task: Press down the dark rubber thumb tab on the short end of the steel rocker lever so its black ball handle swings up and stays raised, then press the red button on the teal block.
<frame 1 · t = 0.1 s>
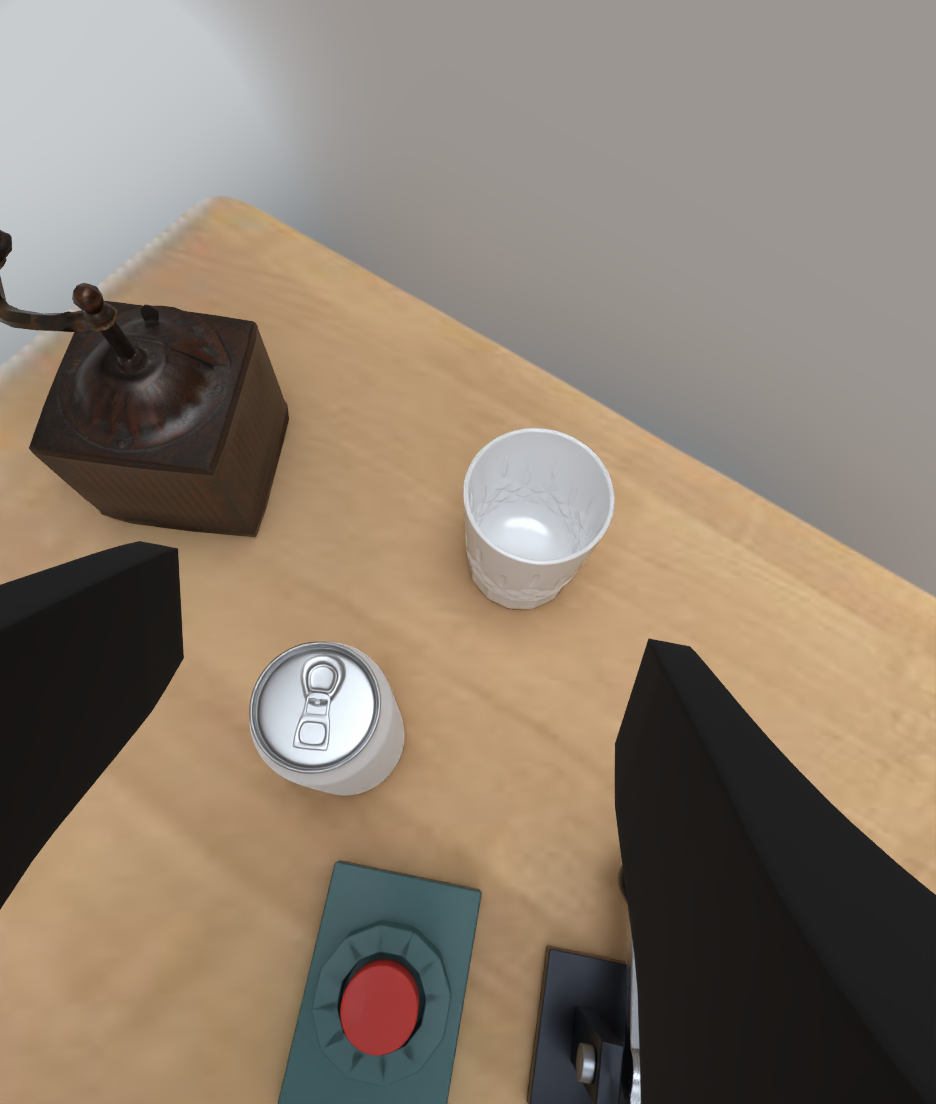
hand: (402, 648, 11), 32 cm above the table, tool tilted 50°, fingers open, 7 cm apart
bracket: (613, 1037, 36), on the table
can: (350, 738, 41), on the table
brown coffee grinder: (166, 454, 48), on the table
button: (380, 1005, 33), point 4 cm above the table, slide at 0.1 cm
button block: (386, 988, 36), on the table
white cup: (519, 562, 46), on the table
lever: (644, 1070, 31), point 6 cm above the table, hinge at -18.0°
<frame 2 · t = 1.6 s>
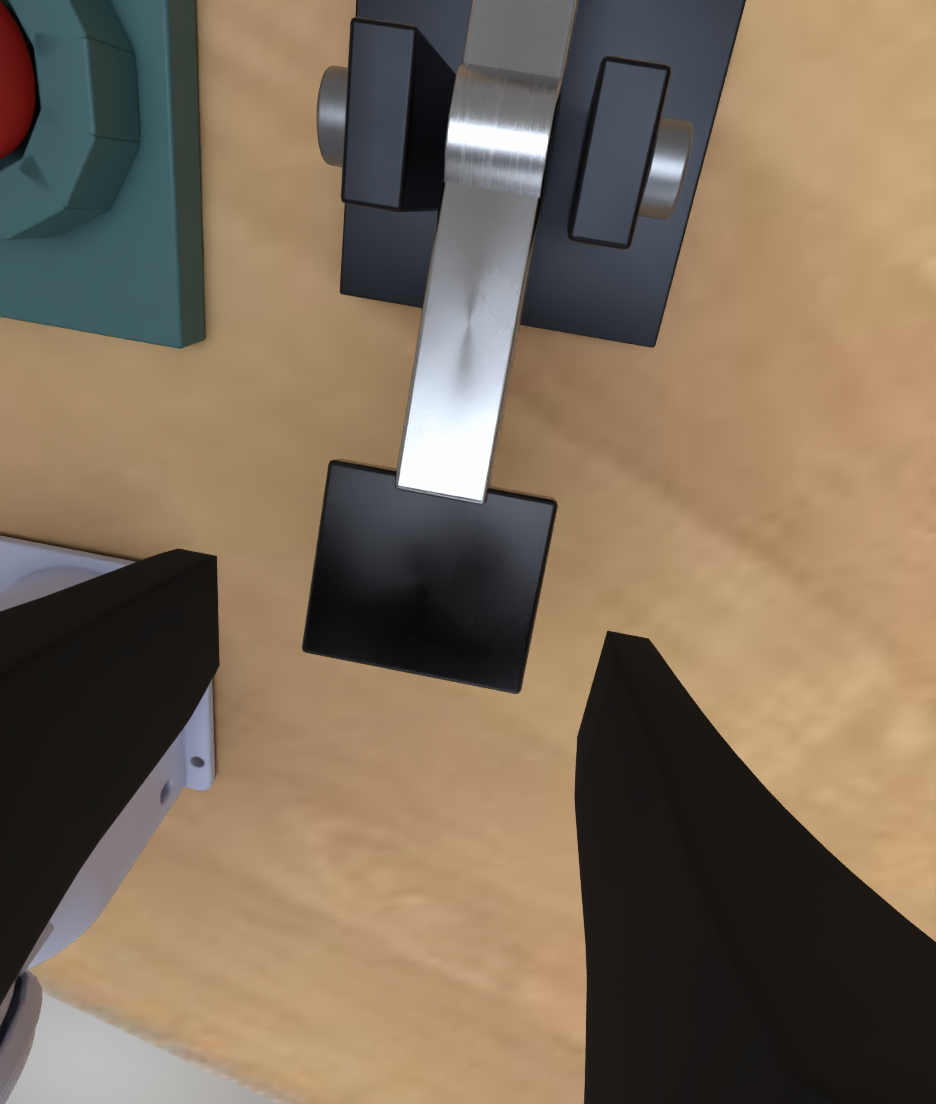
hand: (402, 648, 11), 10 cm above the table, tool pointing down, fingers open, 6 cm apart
bracket: (522, 164, 17), on the table
button block: (43, 86, 17), on the table
lever: (504, 131, 11), point 6 cm above the table, hinge at -18.0°
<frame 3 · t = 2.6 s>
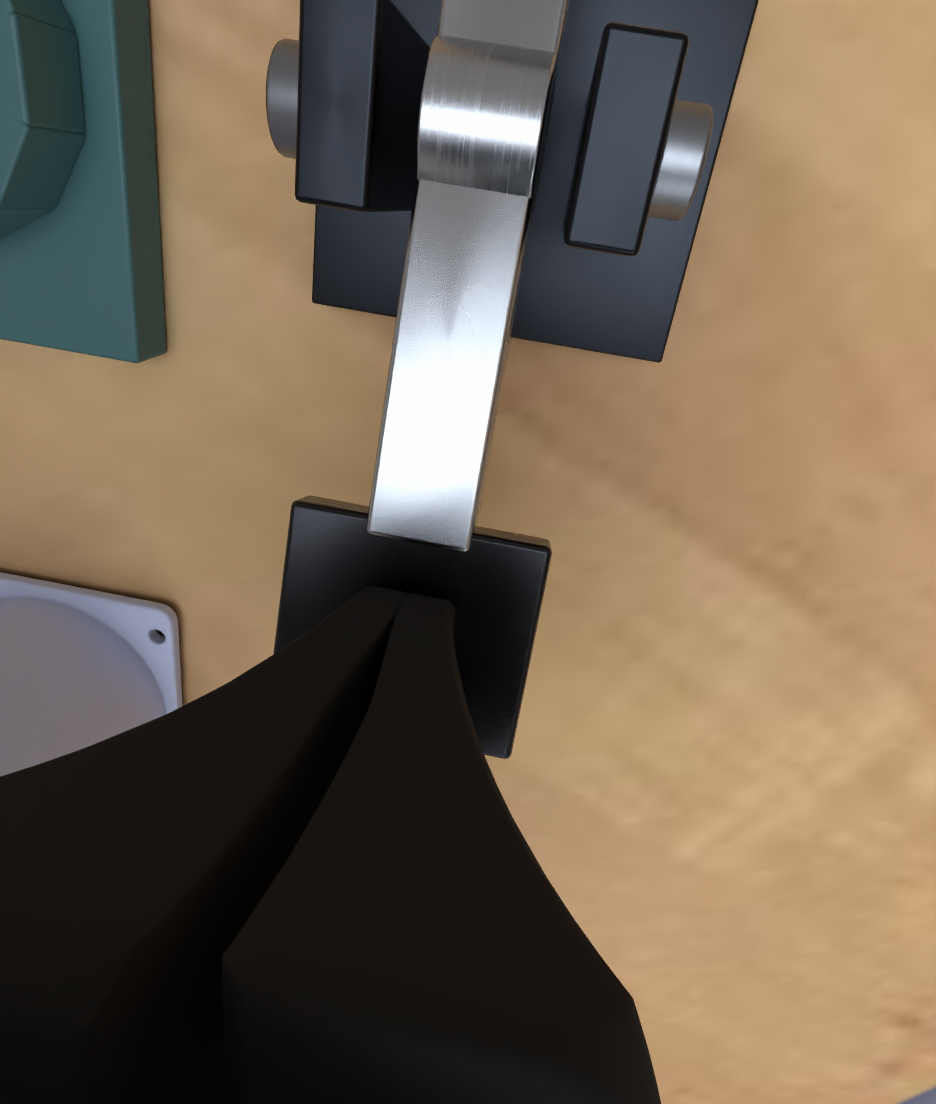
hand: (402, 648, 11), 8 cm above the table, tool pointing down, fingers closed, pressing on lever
bracket: (514, 158, 15), on the table
lever: (489, 116, 10), point 6 cm above the table, hinge at -15.0°, touching gripper
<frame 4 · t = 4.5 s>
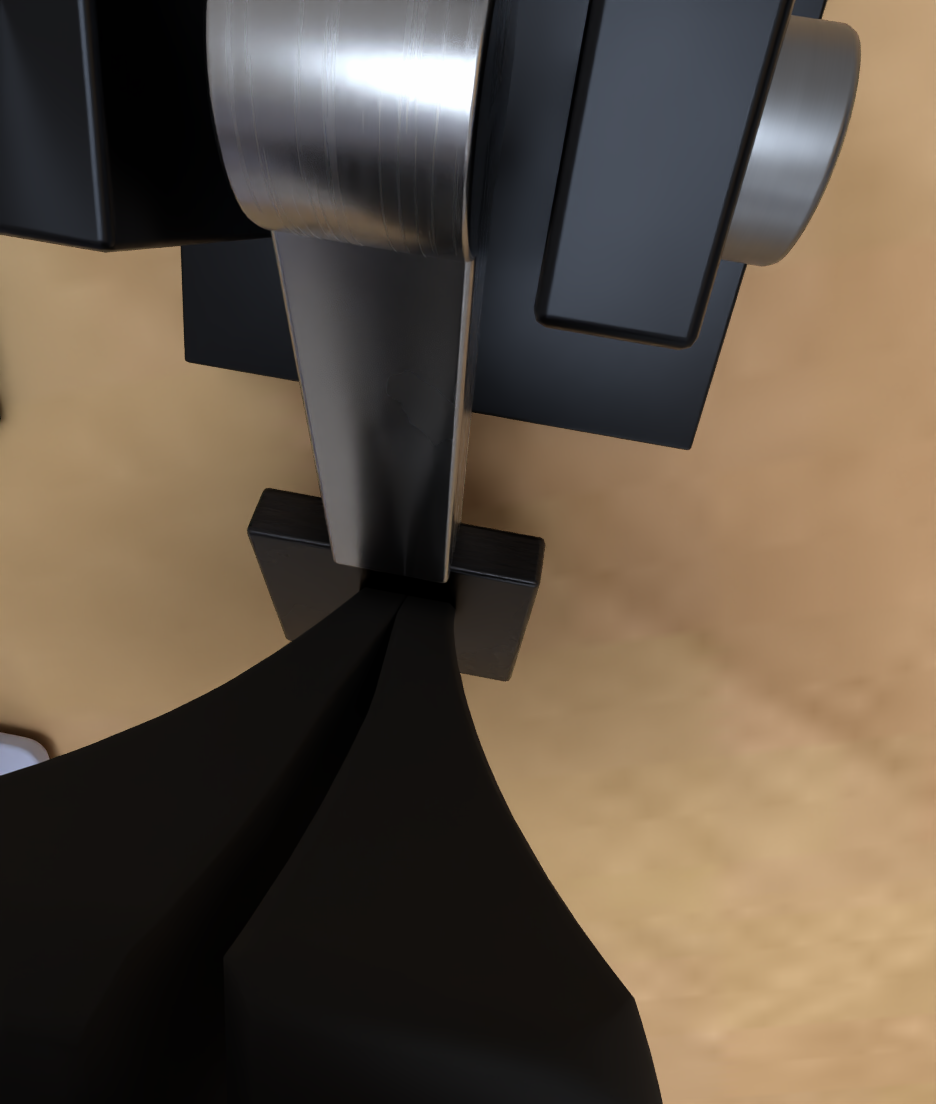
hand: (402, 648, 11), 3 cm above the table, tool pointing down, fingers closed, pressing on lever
bracket: (474, 153, 10), on the table
lever: (379, 54, 5), point 6 cm above the table, hinge at 31.2°, touching gripper
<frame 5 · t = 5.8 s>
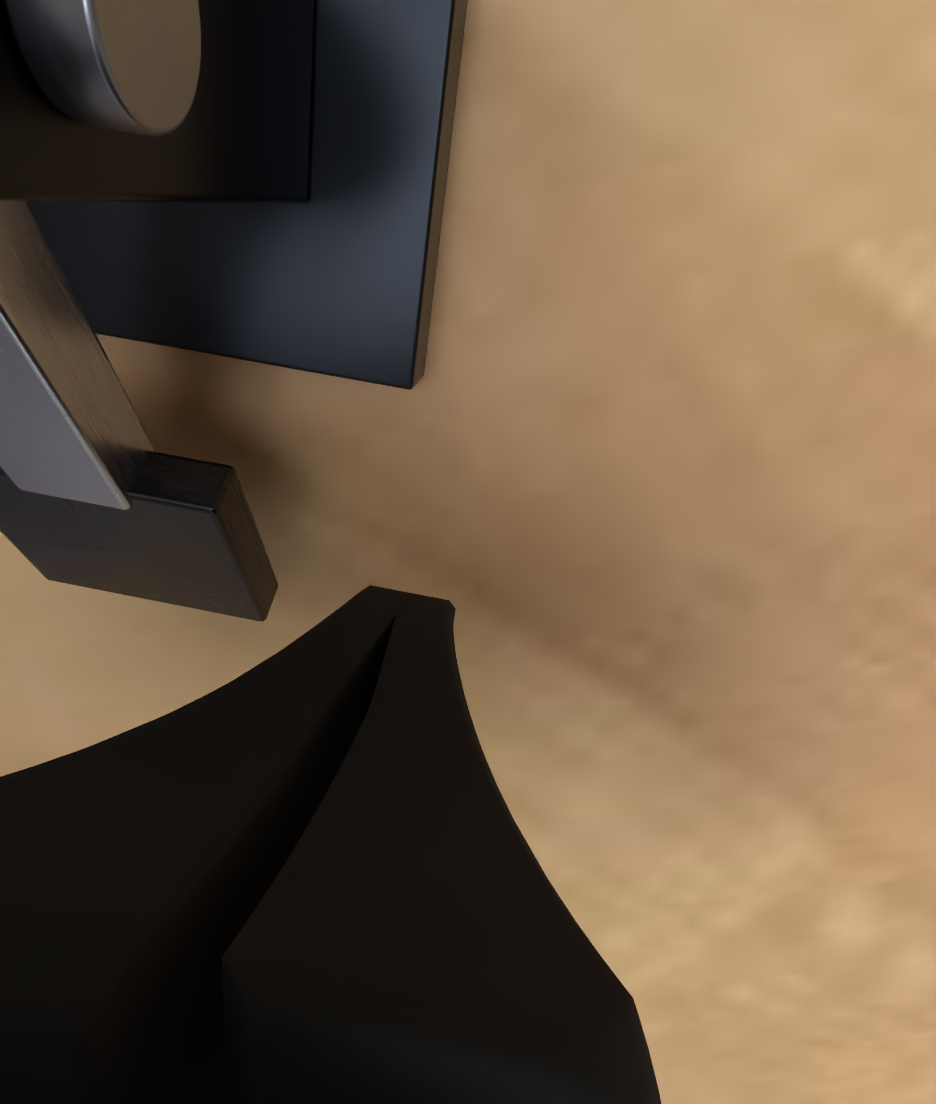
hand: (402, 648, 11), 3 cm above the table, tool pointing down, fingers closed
bracket: (179, 86, 10), on the table
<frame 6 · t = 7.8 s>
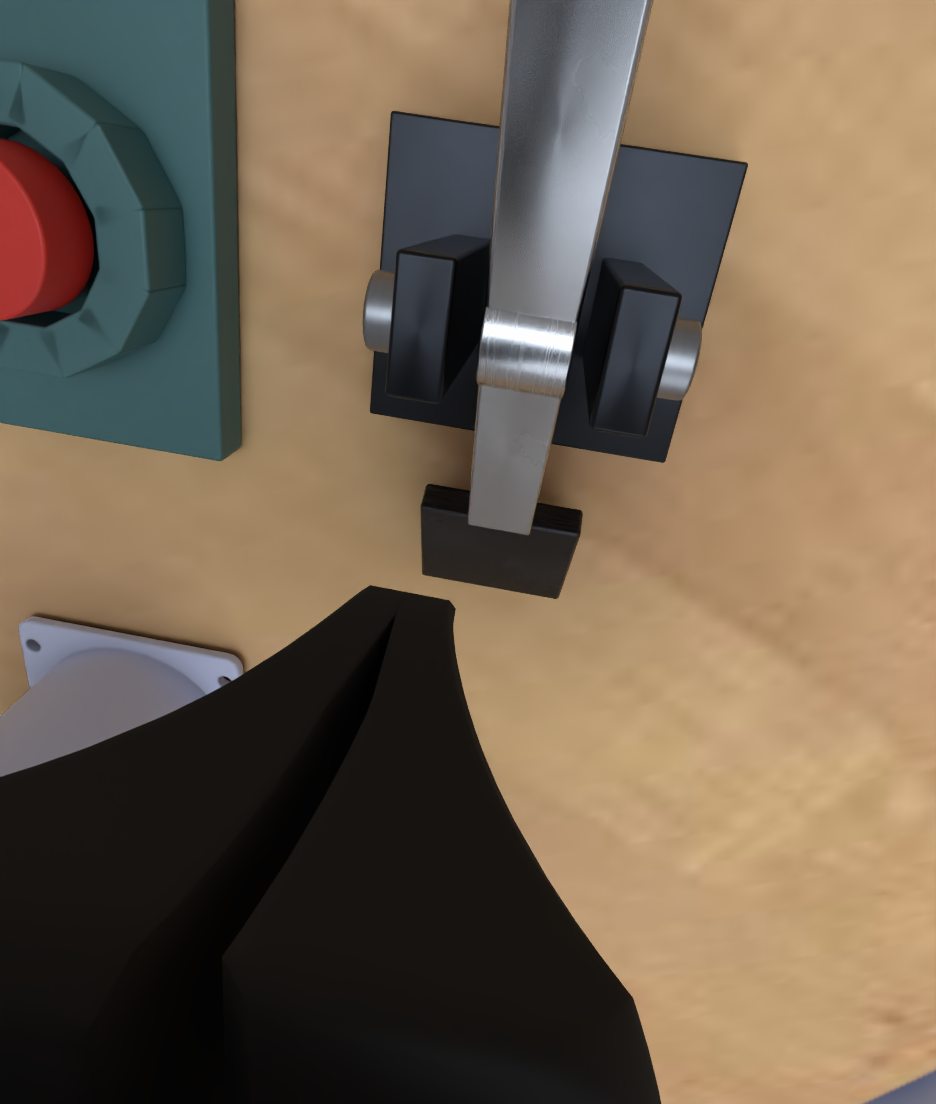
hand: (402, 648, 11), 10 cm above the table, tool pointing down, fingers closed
bracket: (540, 296, 18), on the table
button block: (93, 225, 19), on the table
lever: (530, 326, 12), point 6 cm above the table, hinge at 32.0°
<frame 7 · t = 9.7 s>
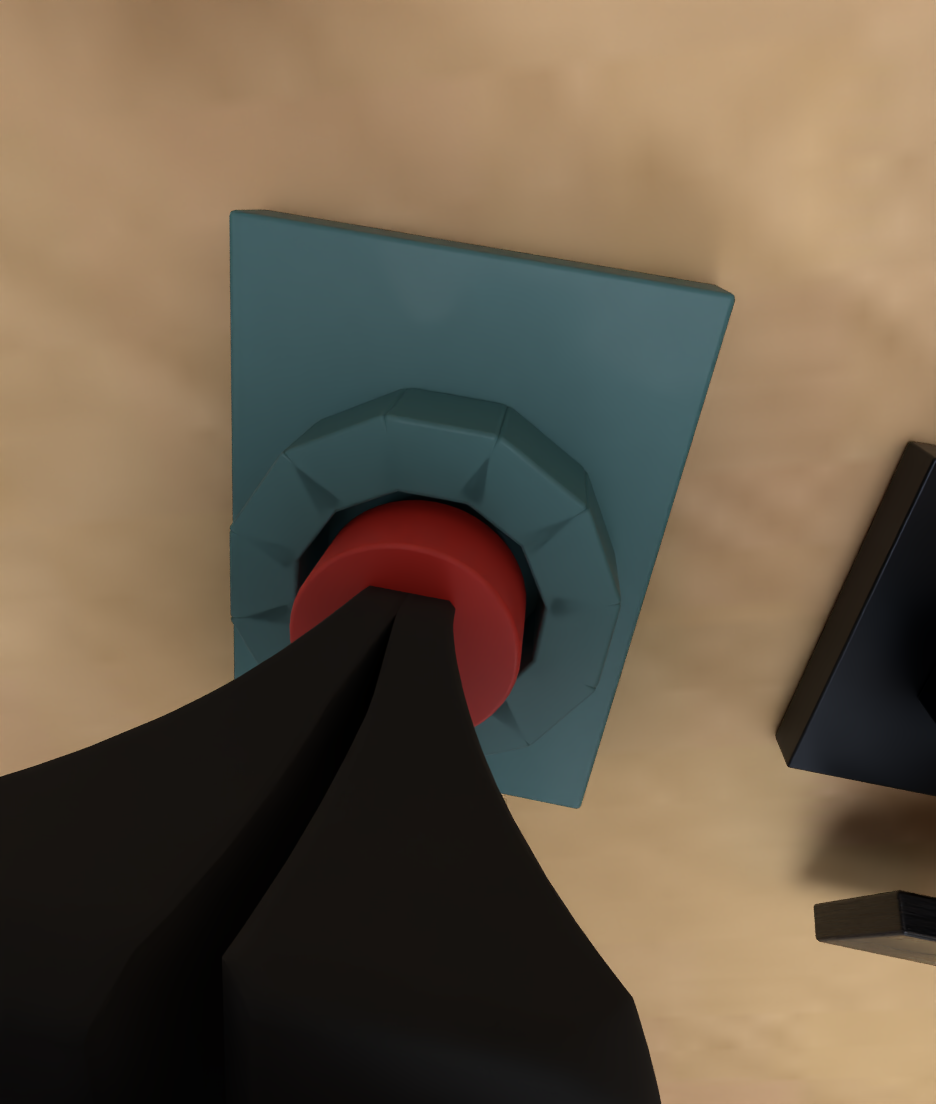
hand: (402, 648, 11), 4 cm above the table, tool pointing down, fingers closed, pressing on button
button: (413, 620, 11), point 3 cm above the table, slide at -0.1 cm, touching gripper
button block: (445, 532, 14), on the table
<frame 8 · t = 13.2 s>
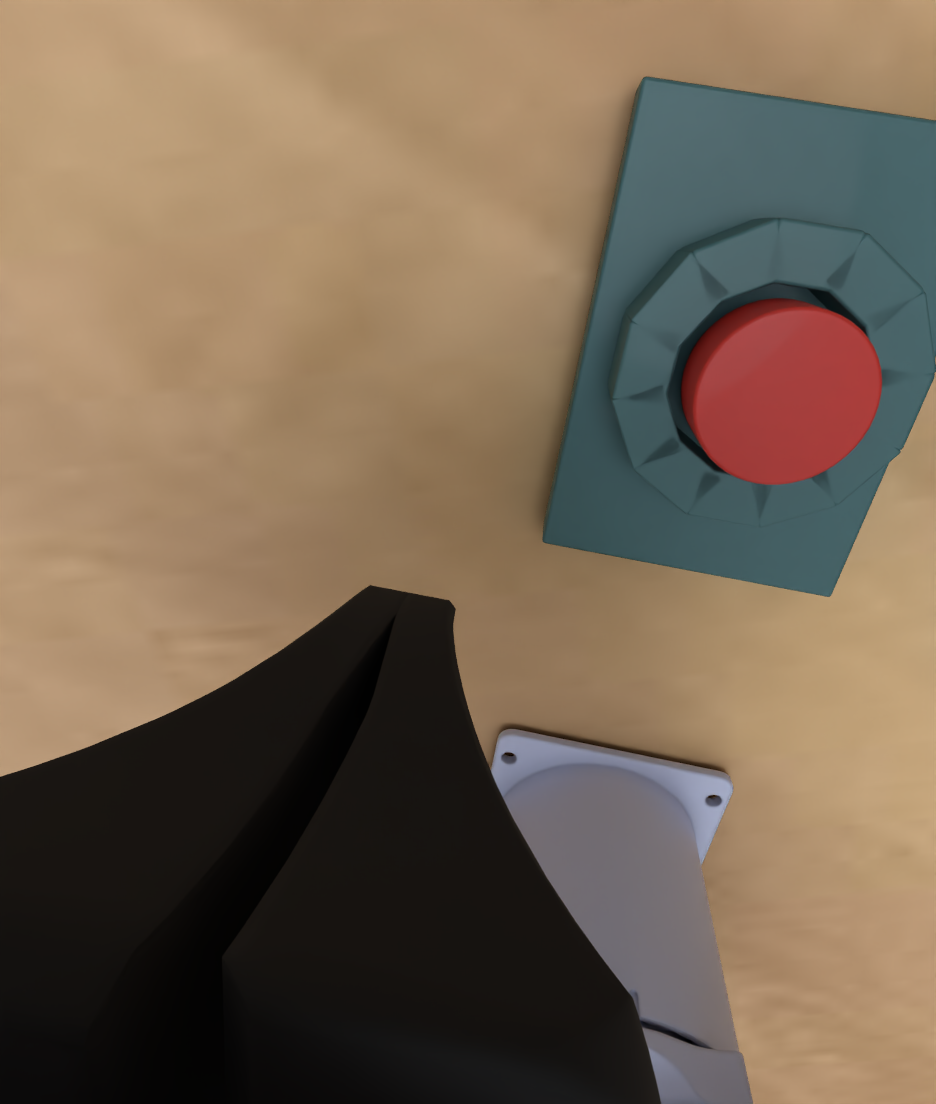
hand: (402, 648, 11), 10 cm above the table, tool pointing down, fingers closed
button: (774, 391, 15), point 4 cm above the table, slide at 0.1 cm
button block: (736, 360, 18), on the table
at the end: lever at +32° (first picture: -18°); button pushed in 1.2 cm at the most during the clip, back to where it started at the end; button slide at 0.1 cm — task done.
